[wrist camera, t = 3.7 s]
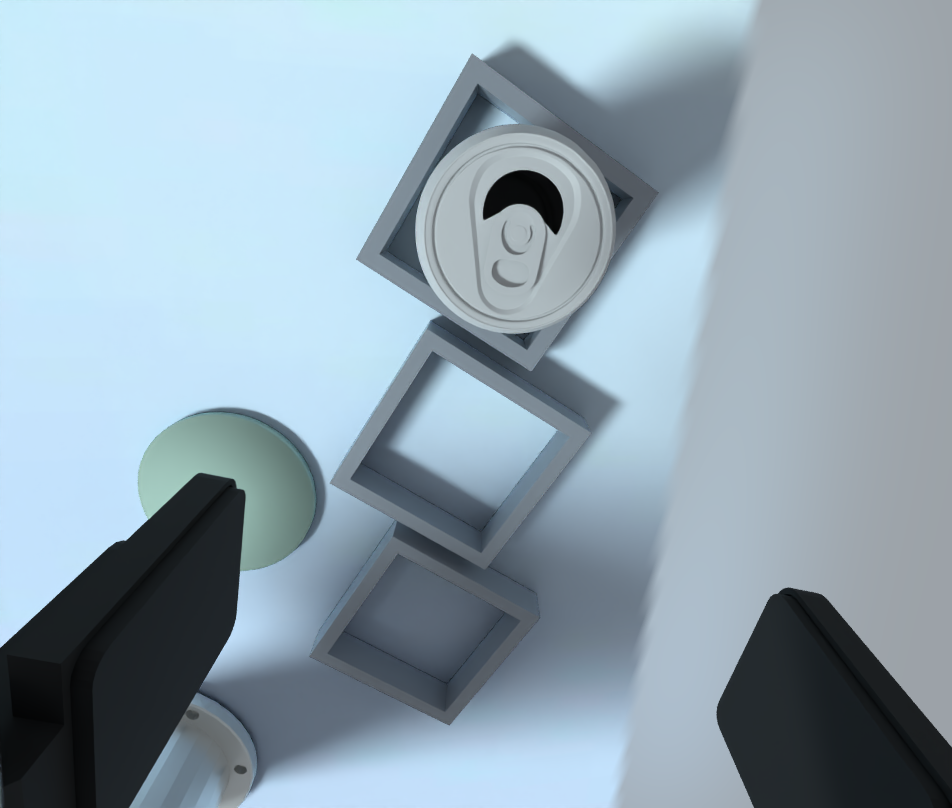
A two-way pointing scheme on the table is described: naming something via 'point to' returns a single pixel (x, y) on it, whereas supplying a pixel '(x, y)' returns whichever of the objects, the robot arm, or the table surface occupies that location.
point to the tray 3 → (400, 676)
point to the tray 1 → (459, 100)
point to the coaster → (236, 478)
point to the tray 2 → (429, 516)
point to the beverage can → (515, 228)
